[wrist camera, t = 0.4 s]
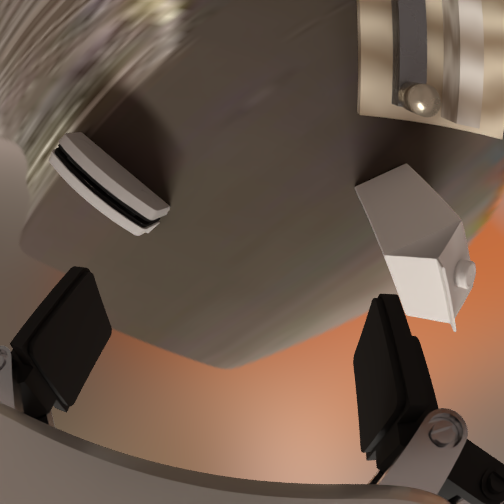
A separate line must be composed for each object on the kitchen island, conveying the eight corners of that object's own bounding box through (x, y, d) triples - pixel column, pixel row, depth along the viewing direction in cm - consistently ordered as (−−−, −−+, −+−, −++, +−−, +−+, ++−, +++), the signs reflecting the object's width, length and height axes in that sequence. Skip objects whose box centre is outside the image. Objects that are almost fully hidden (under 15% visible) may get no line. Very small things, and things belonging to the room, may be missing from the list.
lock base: (349, -75, 18) (363, -109, 11) (493, -33, 16) (532, -45, 8) (357, 113, 31) (377, 126, 23) (496, 136, 29) (537, 158, 21)
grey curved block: (65, 159, 38) (29, 162, 28) (84, 131, 37) (51, 127, 27) (152, 232, 42) (135, 254, 33) (173, 205, 42) (161, 221, 32)
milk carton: (375, 234, 38) (416, 348, 22) (353, 186, 36) (395, 288, 20) (423, 211, 36) (491, 314, 20) (406, 162, 33) (485, 246, 17)
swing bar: (372, -71, 15) (386, -94, 10) (416, -61, 14) (437, -80, 10) (379, 105, 25) (398, 113, 20) (423, 111, 24) (449, 121, 19)
